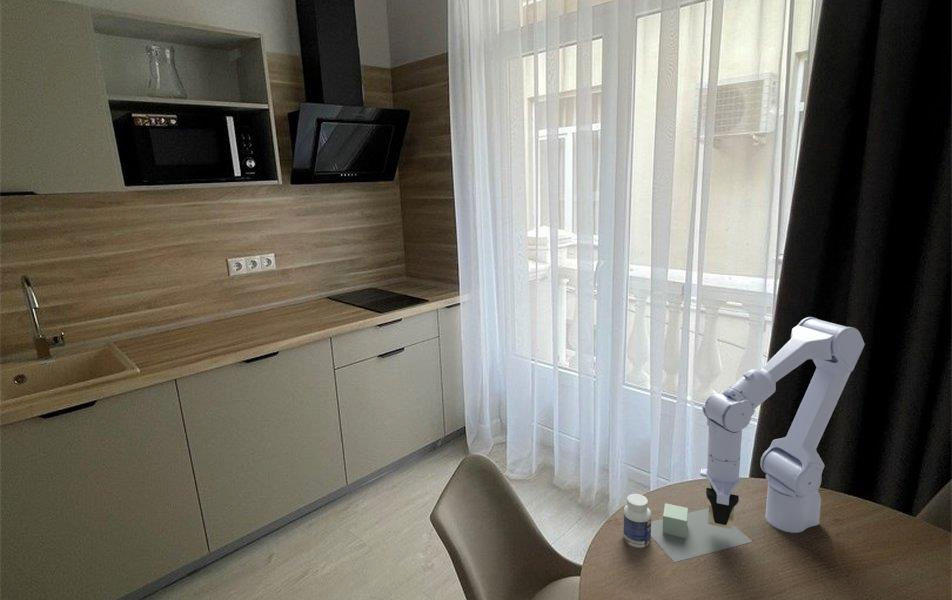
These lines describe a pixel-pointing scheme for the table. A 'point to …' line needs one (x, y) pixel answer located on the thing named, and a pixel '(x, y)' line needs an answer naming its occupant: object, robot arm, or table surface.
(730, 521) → the birch block
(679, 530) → the sage block
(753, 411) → the robot arm
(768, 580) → the table surface
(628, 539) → the pill bottle
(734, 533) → the board
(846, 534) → the table surface
